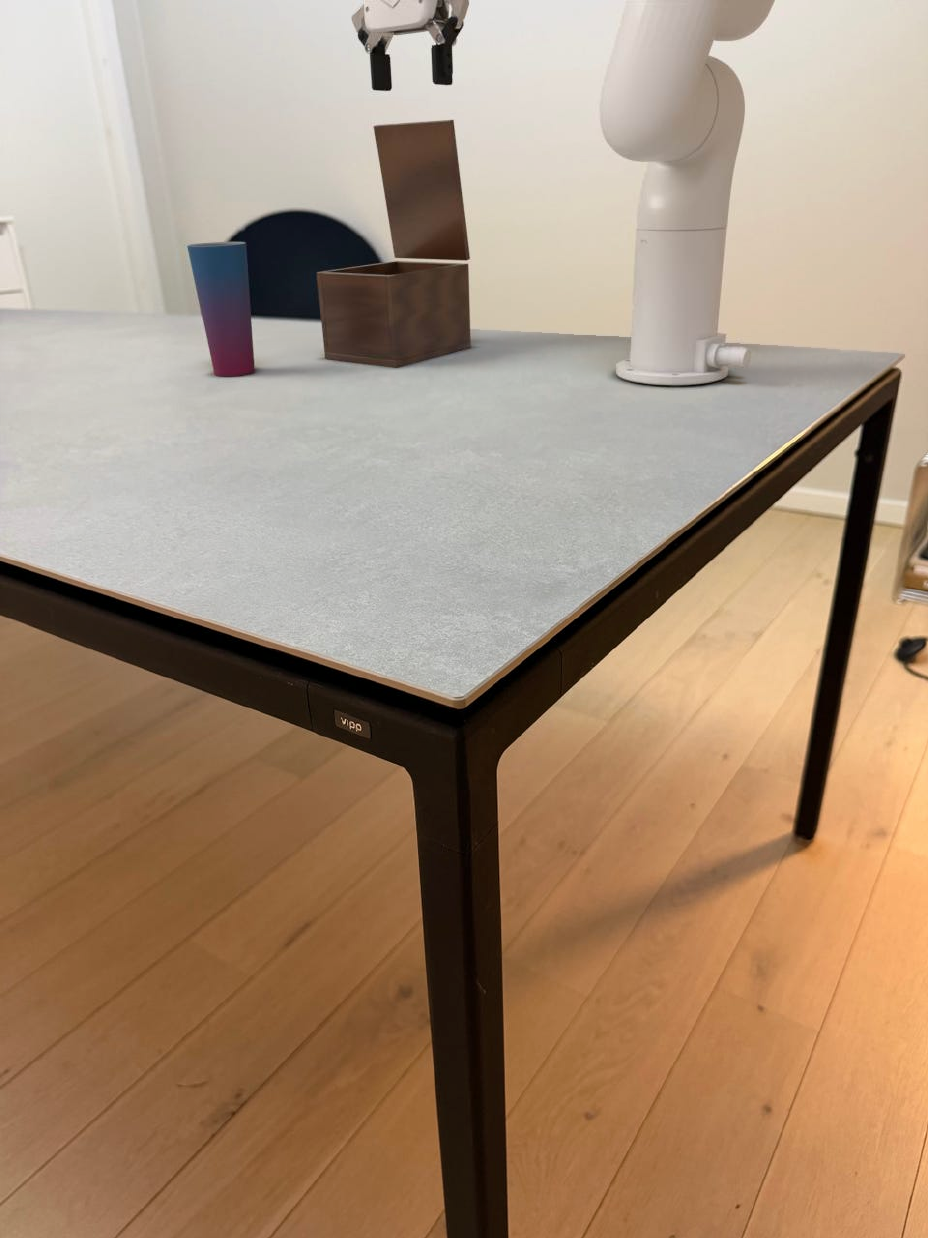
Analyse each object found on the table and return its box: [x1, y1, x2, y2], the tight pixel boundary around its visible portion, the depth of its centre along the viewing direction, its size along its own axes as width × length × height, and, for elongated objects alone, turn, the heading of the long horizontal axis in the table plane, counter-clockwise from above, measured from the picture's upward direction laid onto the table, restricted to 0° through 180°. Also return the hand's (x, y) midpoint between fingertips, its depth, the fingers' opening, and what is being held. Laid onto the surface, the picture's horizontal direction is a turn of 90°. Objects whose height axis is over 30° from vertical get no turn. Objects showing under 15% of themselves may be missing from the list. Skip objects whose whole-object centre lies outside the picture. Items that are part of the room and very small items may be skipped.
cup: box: [186, 241, 256, 377], centre depth 112 cm, size 7×7×15 cm
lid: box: [373, 119, 471, 262], centre depth 121 cm, size 16×13×5 cm
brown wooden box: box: [316, 260, 472, 368], centre depth 122 cm, size 16×13×11 cm
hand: (411, 87), depth 114 cm, fingers open, 9 cm apart
